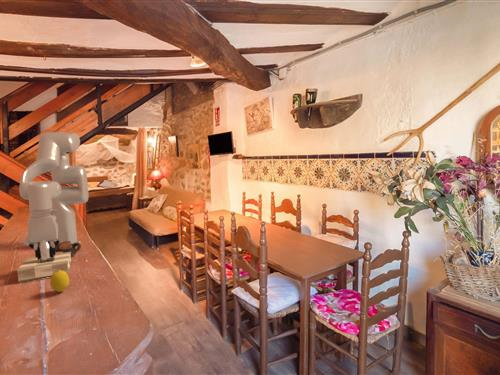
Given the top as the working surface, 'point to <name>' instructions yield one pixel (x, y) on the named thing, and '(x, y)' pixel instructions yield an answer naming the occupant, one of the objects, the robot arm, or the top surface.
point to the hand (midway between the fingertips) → (46, 257)
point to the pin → (45, 251)
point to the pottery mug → (67, 247)
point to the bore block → (43, 267)
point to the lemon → (59, 281)
